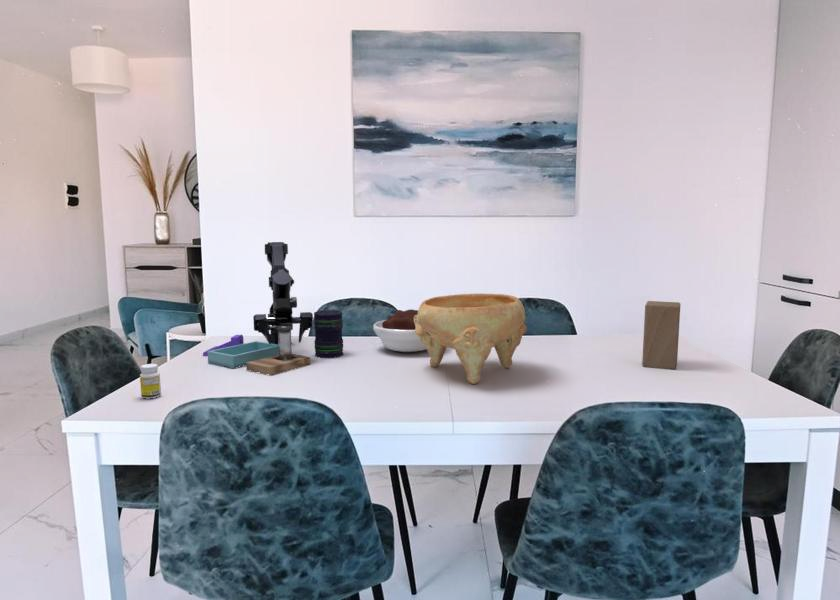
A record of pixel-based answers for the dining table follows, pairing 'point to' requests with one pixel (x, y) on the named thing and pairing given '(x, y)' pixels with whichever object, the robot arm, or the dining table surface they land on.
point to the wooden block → (661, 334)
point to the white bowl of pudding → (399, 332)
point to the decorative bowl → (471, 328)
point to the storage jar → (328, 334)
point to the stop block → (277, 364)
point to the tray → (242, 354)
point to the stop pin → (284, 341)
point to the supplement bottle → (150, 381)
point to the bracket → (228, 343)
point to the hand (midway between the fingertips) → (285, 342)
